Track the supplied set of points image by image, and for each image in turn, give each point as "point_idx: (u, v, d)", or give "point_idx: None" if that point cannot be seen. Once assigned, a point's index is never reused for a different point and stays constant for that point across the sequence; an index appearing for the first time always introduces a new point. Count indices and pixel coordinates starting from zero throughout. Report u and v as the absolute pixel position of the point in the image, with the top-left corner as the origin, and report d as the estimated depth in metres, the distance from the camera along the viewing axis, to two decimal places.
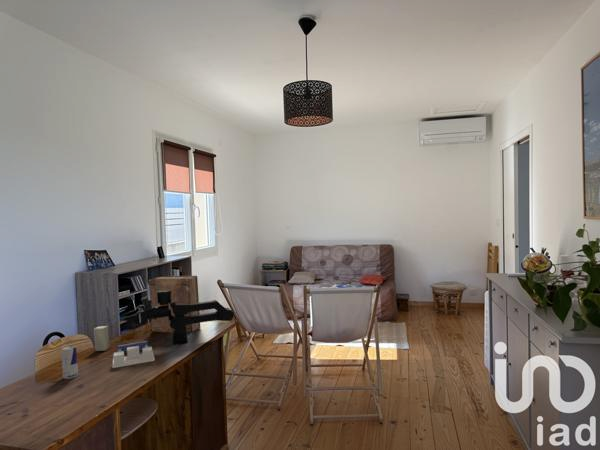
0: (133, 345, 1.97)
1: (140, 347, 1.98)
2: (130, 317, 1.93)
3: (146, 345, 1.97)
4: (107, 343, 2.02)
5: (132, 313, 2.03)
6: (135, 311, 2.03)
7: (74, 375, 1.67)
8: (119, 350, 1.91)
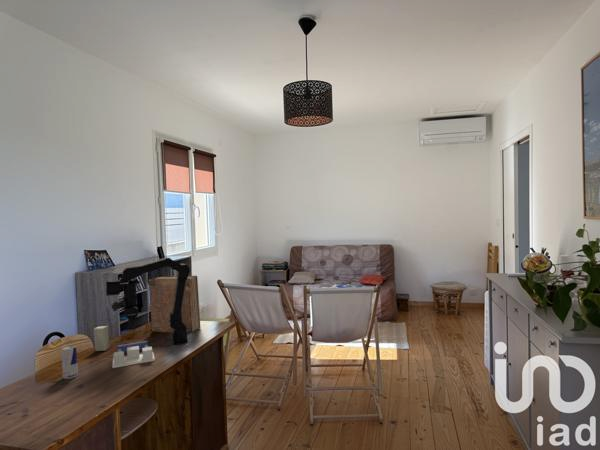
0: (133, 345, 1.97)
1: (140, 347, 1.98)
2: (130, 321, 1.92)
3: (146, 345, 1.97)
4: (107, 343, 2.02)
5: None
6: None
7: (74, 375, 1.67)
8: (119, 350, 1.91)
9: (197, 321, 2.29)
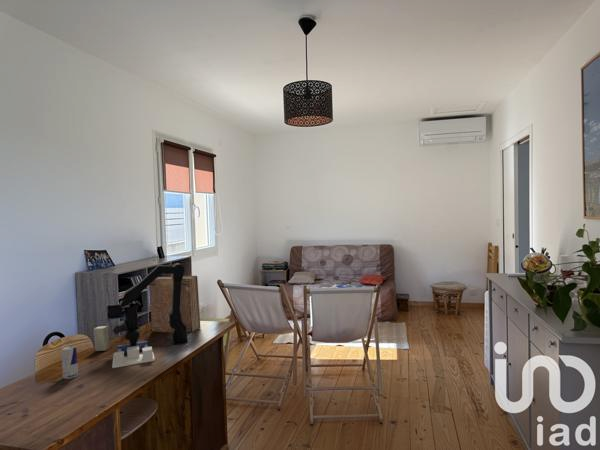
0: None
1: (140, 347, 1.98)
2: (131, 343, 1.95)
3: (146, 345, 1.97)
4: (107, 343, 2.02)
5: None
6: None
7: (74, 375, 1.67)
8: (119, 350, 1.91)
9: (197, 321, 2.29)
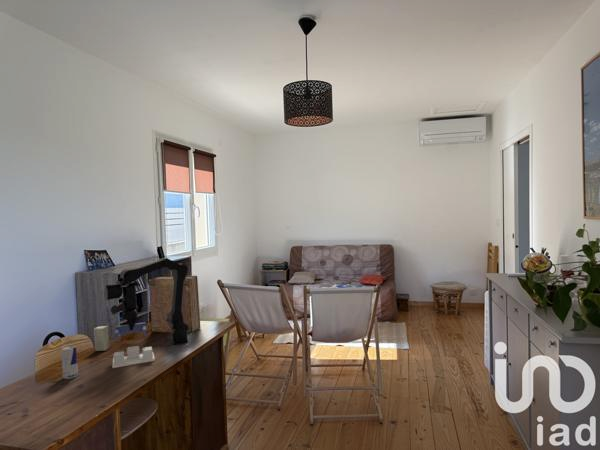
0: None
1: (139, 329, 1.92)
2: (129, 323, 1.89)
3: (144, 326, 1.91)
4: (107, 343, 2.02)
5: None
6: None
7: (74, 375, 1.67)
8: (116, 330, 1.86)
9: (197, 321, 2.29)
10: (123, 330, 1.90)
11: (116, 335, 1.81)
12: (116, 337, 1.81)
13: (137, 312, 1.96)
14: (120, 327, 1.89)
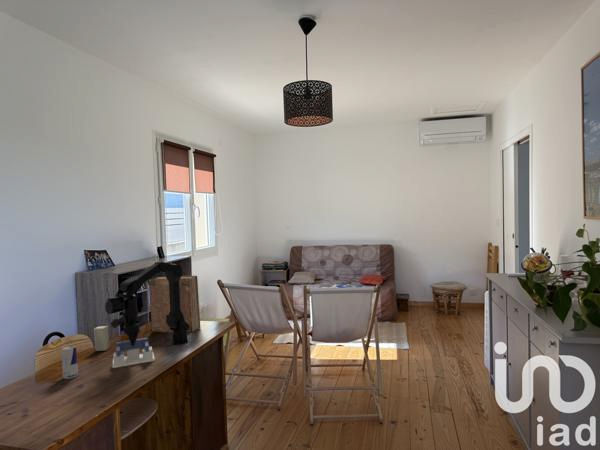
0: None
1: (140, 345, 1.86)
2: (131, 339, 1.80)
3: (146, 342, 1.84)
4: (107, 343, 2.02)
5: None
6: None
7: (74, 375, 1.67)
8: (117, 347, 1.79)
9: (197, 321, 2.29)
10: (124, 346, 1.83)
11: (118, 352, 1.75)
12: (118, 354, 1.75)
13: None
14: (121, 343, 1.82)
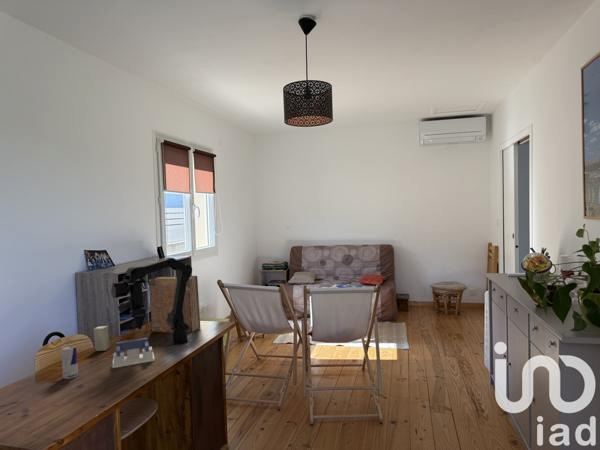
0: (132, 342, 1.84)
1: (140, 345, 1.86)
2: (138, 322, 1.87)
3: (146, 342, 1.84)
4: (107, 343, 2.02)
5: None
6: None
7: (74, 375, 1.67)
8: (117, 347, 1.79)
9: (197, 321, 2.29)
10: (124, 346, 1.83)
11: (118, 352, 1.75)
12: (118, 354, 1.75)
13: None
14: (121, 343, 1.82)
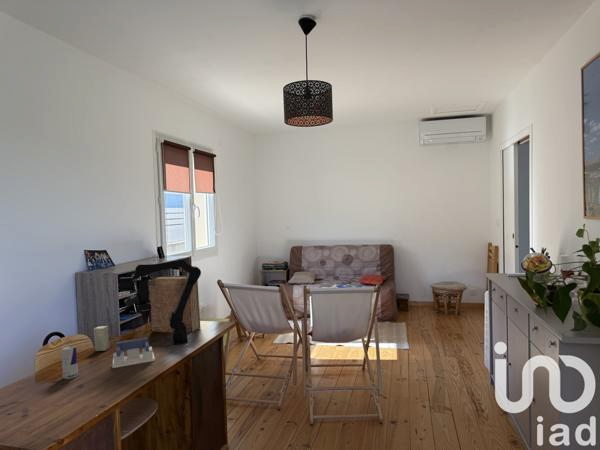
0: (132, 342, 1.84)
1: (140, 345, 1.86)
2: (143, 317, 1.95)
3: (146, 342, 1.84)
4: (107, 343, 2.02)
5: None
6: None
7: (74, 375, 1.67)
8: (117, 347, 1.79)
9: (197, 321, 2.29)
10: (124, 346, 1.83)
11: (118, 352, 1.75)
12: (118, 354, 1.75)
13: (149, 303, 2.08)
14: (121, 343, 1.82)
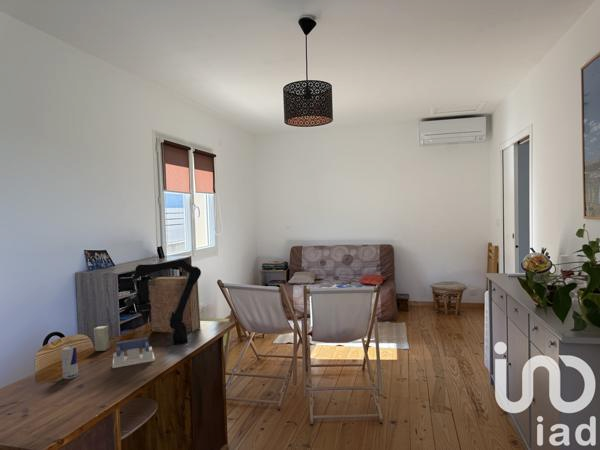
0: (132, 342, 1.84)
1: (140, 345, 1.86)
2: (143, 317, 1.95)
3: (146, 342, 1.84)
4: (107, 343, 2.02)
5: None
6: None
7: (74, 375, 1.67)
8: (117, 347, 1.79)
9: (197, 321, 2.29)
10: (124, 346, 1.83)
11: (118, 352, 1.75)
12: (118, 354, 1.75)
13: (149, 303, 2.08)
14: (121, 343, 1.82)
